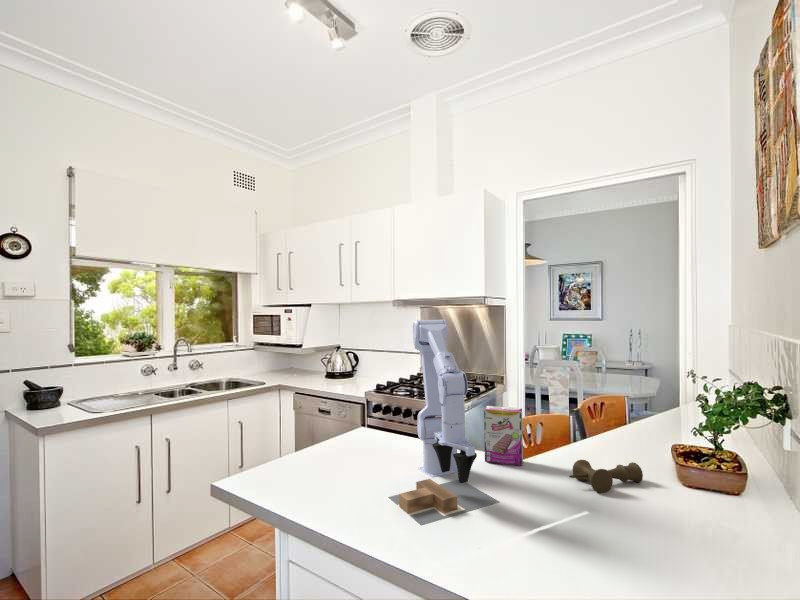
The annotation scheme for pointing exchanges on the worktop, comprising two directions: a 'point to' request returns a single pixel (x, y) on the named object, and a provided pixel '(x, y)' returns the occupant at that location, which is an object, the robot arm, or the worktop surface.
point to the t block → (428, 498)
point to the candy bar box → (503, 435)
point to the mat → (466, 499)
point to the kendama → (606, 475)
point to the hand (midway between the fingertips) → (454, 476)
